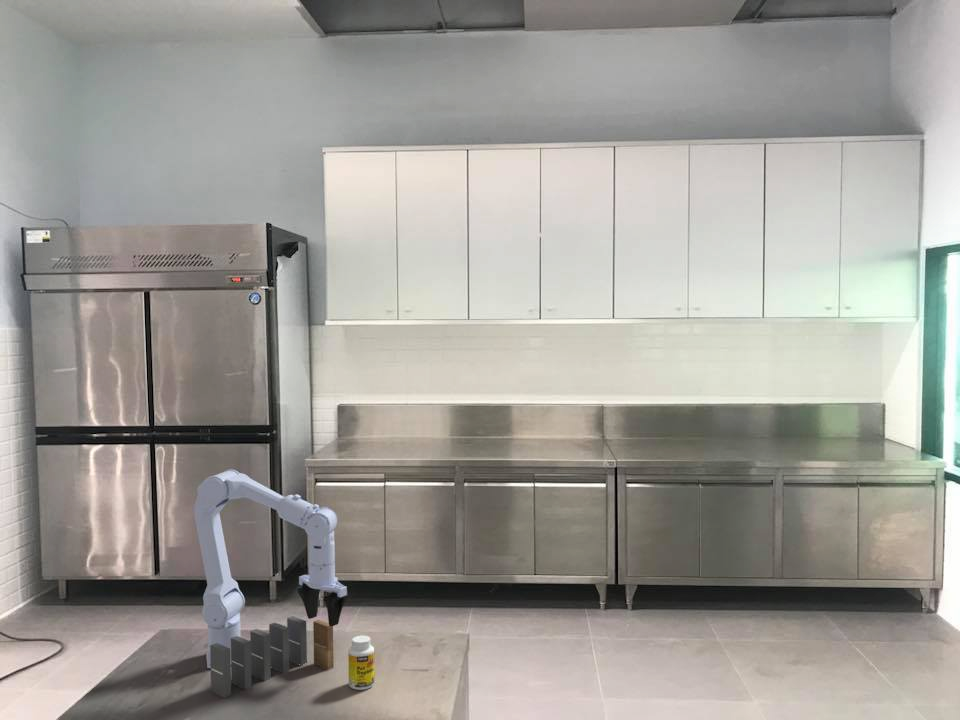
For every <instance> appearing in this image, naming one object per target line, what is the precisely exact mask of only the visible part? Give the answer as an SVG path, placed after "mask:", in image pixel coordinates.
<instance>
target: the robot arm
mask: <svg viewBox="0 0 960 720" xmlns="http://www.w3.org/2000/svg"><path fill="white" fill-rule="evenodd" d="M196 490H197V496H196V497H197V498H196V500H195V504H194V506H193V515H194V519H195V526H196V530H197V531H196V532H197V536H198V541H199V547H200V551H201V552H200V553H201V557H202V563H203V569H204V574H205V579H206V584H207V585H206V588H205V591H204V593H203V595H202V596H203V597H202V600H203V607H202V610H201V615H202V619H203V622H204V623H206V624H207V643H208V645H207V646H208V648H207V651H206V652H205V654H206V655H205V657H206V667H207V669H211V658H210V645H212V644H215V643H218V644H221V645H223V646H225V647H228V648H230V660H231V638H232V637H235V636H239V637H241V636H242V635H241V612H242V611H243V609H244V607H245V605H246V599H245V597H244V594H243V593H242V591H241V590H240V587H239V583H238V581H236V580H235V579H234V578H233V577H232V574H231V570H230V564H229V558H228V557H229V556H228V553H227V548H226V547H227V546H226V541H225V536H224V531H223V530H224V529H223V527H222V521H221V520H222V519H221V516H220V515H221V514H220V512H221V511H222V510H223V509H224V507H225V506H226V505H227V504H228V502H229V501H230V500H237V499H244V498H246V499H249V500H252V501H253V502H255V503H259V504H261V505H263V506H266V507H269V508H271V509H273V510H275V511H276V513H277V515H278V517H279V518H280V519H282V520H283V521H286V522H288V523H290V524H292V525H295V526H296V527H298V528H301V529H302V530H303V529H304V531H305V533H306V535H308V541H309V542H308V552H309V553H308V554H309V555H308V559H309V560H308V563H309V567H308V569H309V574H303V575H301V576H298V585H300V586H301V587H299V588H297V594H298V595H299V596H300V598H301V600H302V602H303V606H304V609H305V611H306V612H305V613H306V616H307V619H309V620H310V619H314V618H316V617H317V616H318V610H319V609H318V608H319V596H320V593H321V591H323V592H326V593H330V594H329V595H326V596H322V597H323V598H322V599H323V601H324V603H325V606H326V610H327V620H328V623H329V626H331V627H332V626H333V627H335V626H337V625H339V622H340V619H341V614H342V610H343V608H344V605H345V603H346V601H347V599H348V598H349V593H348V588H347V587H348V586H345V585H344V584H342V583H341V582H339V577H336V560H335V559H336V556H335V553H336V552H335V551H336V548H335V546H336V545H335V531H334V530H335V529H336V527H337V526H338V522H339V521H338V516H337V514H336V512H335V511H334V510H333V509H331V508H330V507H328V506H322V507H320V505H319V504H317V503H315V504H313V503H310V502H308V501H306V500H304V499H302V495H299V494H297V493H296V494H289V495H286V496H284V495H281V494H280V493H277V492H276V491H274V490H272V489H270V488H269V487H267V486H265V485H263V484H262V483H260V482H257V481H256V480H254V479H252V478H250V477H249V476H248V474H245V473H242V472H241V473H240V472H239V471H238V470H235V469H226V470H224V471H222V472H220V473H218V474H215V475H211V476H208V477H206V478H205V479H204V480H203V481H202V482H201V483H200V484H199V486H197V487H196ZM241 638H242V637H241Z"/></svg>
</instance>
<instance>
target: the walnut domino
mask: <svg viewBox="0 0 960 720" xmlns="http://www.w3.org/2000/svg"><path fill="white" fill-rule="evenodd" d="M312 623H313V624H312V625H313V627H312V628H313V631H312V632H313V664H316V665H315V666H317V665H318V666H317V667H319V666H321V667H320V668H322V667H323V668H322V669H324V668H325V670H327V669H328V670H327V671H330V670H331V668H332V669H334V668H333V667H335V666H334V626H332V627H331V626H329V622H326V621H324V620H321V619H317V620H314V621H313V622H312Z"/></svg>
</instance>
